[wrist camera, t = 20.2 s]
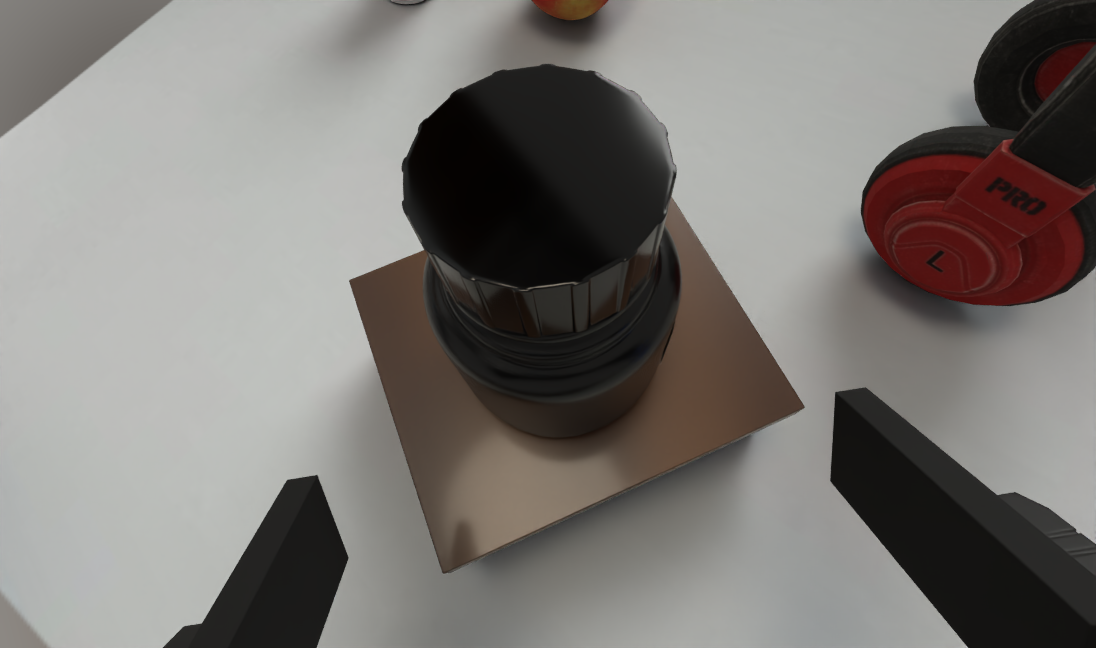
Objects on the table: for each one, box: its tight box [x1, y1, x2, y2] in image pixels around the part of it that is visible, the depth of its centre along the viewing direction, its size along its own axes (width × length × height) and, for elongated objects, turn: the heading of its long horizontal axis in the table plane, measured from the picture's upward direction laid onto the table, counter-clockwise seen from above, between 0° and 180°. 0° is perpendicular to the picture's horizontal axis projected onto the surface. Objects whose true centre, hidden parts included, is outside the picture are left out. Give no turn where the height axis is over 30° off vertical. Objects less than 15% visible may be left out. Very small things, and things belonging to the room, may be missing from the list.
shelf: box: [349, 197, 805, 574], centre depth 28 cm, size 16×14×6 cm
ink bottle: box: [402, 64, 682, 437], centre depth 19 cm, size 10×9×12 cm
